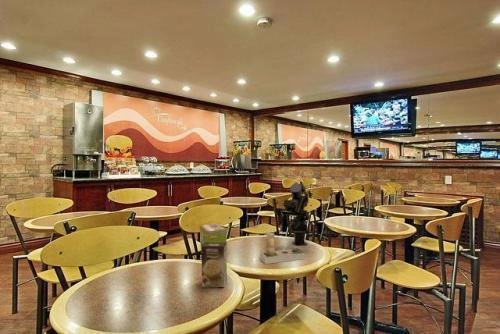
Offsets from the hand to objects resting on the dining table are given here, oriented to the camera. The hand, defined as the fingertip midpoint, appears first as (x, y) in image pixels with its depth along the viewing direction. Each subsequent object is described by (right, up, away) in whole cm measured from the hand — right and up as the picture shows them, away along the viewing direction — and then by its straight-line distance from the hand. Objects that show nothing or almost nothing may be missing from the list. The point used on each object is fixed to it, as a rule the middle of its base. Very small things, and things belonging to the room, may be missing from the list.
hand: (286, 227), depth 151 cm
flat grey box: (-3, -14, -8) cm, 16 cm away
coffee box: (-33, -15, -36) cm, 51 cm away
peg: (-9, -14, -10) cm, 19 cm away
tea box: (-38, -15, +1) cm, 41 cm away
